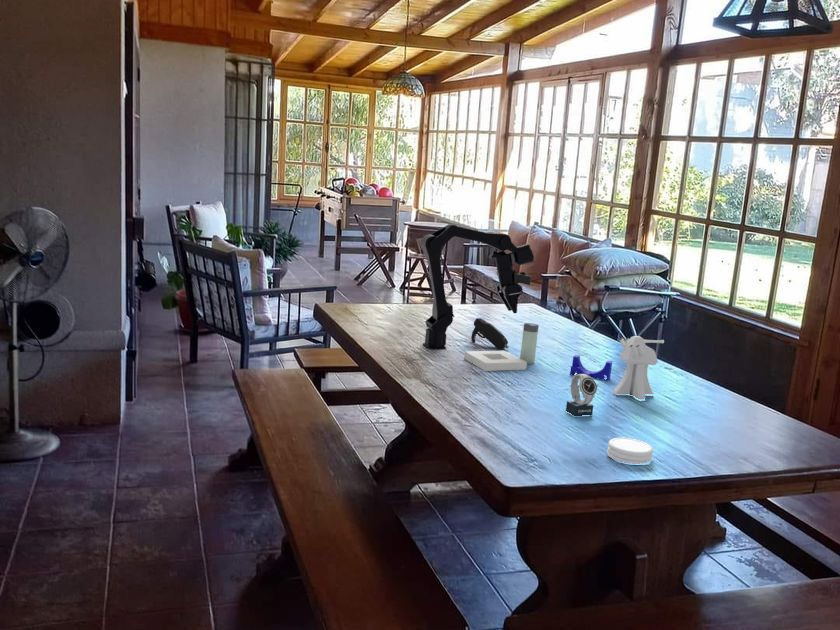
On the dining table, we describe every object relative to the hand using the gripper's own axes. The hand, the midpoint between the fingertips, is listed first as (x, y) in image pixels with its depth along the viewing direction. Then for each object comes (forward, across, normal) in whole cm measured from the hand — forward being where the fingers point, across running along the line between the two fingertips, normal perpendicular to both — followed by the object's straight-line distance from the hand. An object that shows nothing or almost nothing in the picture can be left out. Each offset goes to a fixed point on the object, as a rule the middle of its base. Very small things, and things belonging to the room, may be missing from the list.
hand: (512, 311), depth 273 cm
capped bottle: (+16, -15, +1) cm, 22 cm away
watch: (+22, -68, -1) cm, 72 cm away
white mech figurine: (+26, -47, -24) cm, 58 cm away
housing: (+13, -20, +12) cm, 27 cm away
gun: (+12, +6, +10) cm, 16 cm away
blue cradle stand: (+22, -28, -16) cm, 39 cm away
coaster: (+26, -99, -3) cm, 102 cm away
